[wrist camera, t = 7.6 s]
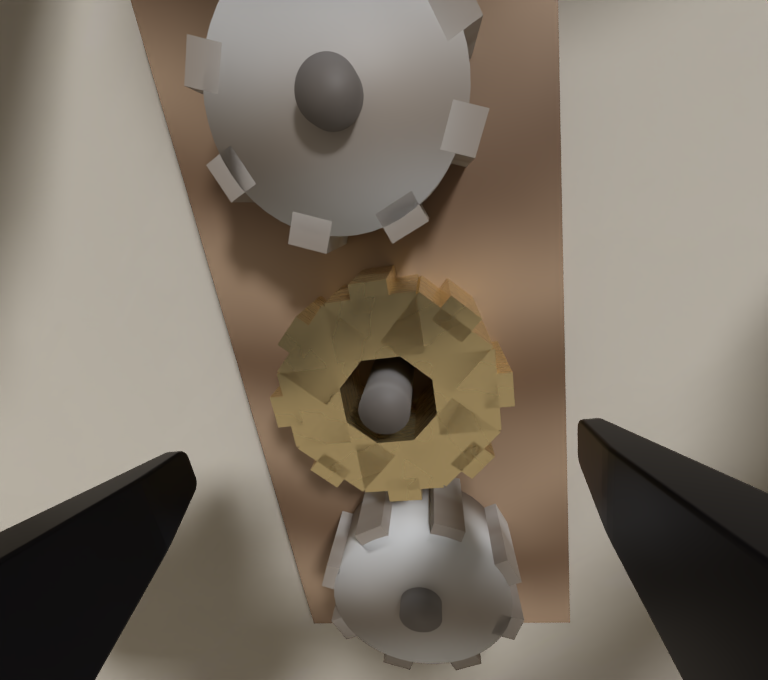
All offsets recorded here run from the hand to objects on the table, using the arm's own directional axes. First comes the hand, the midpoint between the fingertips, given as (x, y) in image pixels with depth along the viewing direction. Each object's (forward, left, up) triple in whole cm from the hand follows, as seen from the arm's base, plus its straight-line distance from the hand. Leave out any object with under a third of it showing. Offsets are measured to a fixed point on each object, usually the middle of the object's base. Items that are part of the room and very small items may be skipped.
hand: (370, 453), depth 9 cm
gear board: (0, 0, -6) cm, 6 cm away
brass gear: (0, 0, -5) cm, 5 cm away
